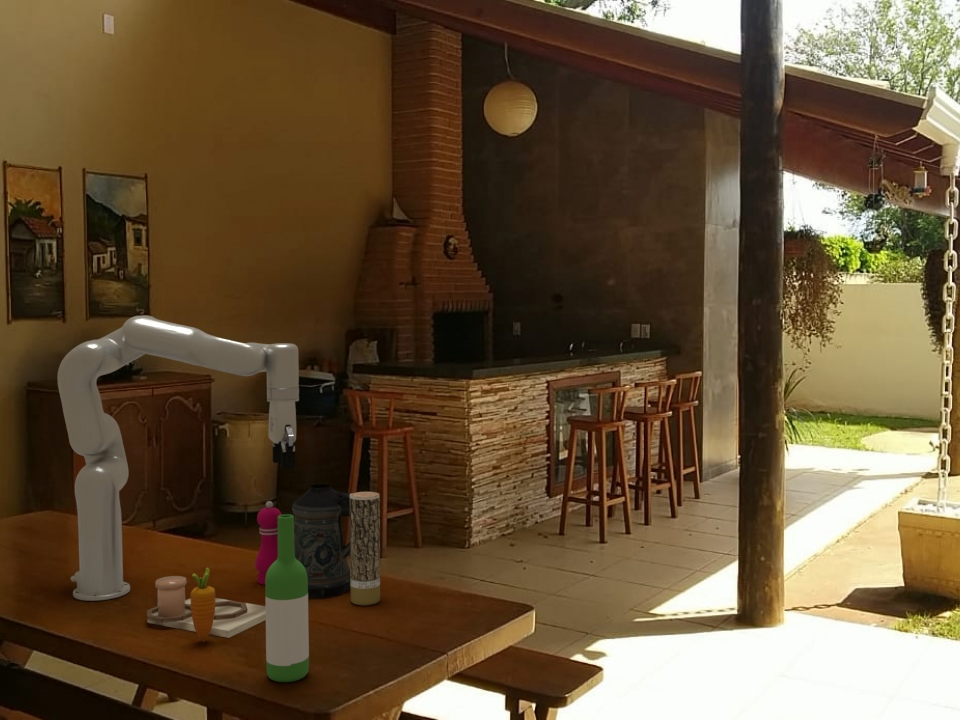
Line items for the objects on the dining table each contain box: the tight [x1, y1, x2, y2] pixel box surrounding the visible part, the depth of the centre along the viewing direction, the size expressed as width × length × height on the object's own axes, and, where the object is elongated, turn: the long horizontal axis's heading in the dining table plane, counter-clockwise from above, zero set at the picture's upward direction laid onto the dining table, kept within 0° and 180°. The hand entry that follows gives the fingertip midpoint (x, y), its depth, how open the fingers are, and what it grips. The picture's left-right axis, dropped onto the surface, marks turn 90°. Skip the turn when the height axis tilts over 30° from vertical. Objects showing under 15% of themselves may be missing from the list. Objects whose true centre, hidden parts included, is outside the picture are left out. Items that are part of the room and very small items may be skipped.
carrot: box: [189, 567, 216, 643], centre depth 193 cm, size 5×5×15 cm
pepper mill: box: [254, 500, 282, 586], centre depth 235 cm, size 7×7×20 cm
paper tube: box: [349, 491, 381, 607], centre depth 219 cm, size 7×7×25 cm
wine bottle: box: [264, 513, 310, 683], centre depth 176 cm, size 8×8×30 cm
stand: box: [146, 597, 266, 639], centre depth 207 cm, size 23×18×2 cm
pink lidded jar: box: [154, 575, 188, 617], centre depth 206 cm, size 6×6×8 cm
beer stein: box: [291, 484, 351, 599], centre depth 230 cm, size 16×19×25 cm
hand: (283, 465), depth 230 cm, fingers open, 9 cm apart
